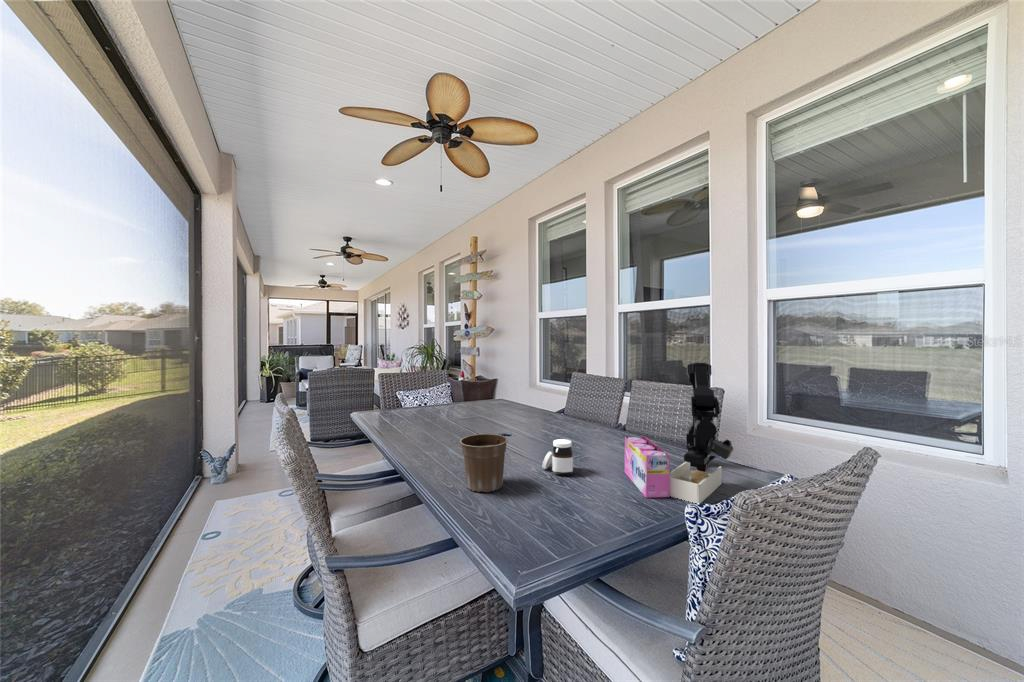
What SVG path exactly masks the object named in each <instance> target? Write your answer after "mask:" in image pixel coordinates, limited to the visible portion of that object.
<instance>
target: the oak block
mask: <svg viewBox="0 0 1024 682" xmlns="http://www.w3.org/2000/svg"><path fill="white" fill-rule="evenodd" d="M708 474H709V472H708V471H707V472H703V471H699V470H697V469H695V470H694V471H693V472H692V473H691V482H692V483H696V484H699V483H700V482H701V481H702V480H704V479H705V478H706V477H707V476H708Z"/></svg>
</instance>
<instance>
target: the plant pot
mask: <svg viewBox="0 0 1024 682" xmlns="http://www.w3.org/2000/svg"><path fill="white" fill-rule="evenodd" d="M459 443H460V445H461V450H462V454H463V458H464V468H465V469H464V471H465V478H466V479H465V480H466V486H467V487H468V488H469V489H470V490H469V489H468V488H467V489H468V490H469V491H471V490H472V492H474V491H477V492H476V493H480V492H483V493H484V492H486V493H491V492H490V491H493V492H496V491H498V490H500V489H501V488H502V487H503V484H504V482H503V481H504V472H505V471H504V467H505V455H506V452H507V443H508V437H507V436H504V435H503V434H497V433H478V434H471V435H467V436H465V437H463V438H461V439H460V440H459ZM495 490H496V491H495Z"/></svg>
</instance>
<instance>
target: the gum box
mask: <svg viewBox="0 0 1024 682" xmlns="http://www.w3.org/2000/svg"><path fill="white" fill-rule="evenodd" d="M670 469H671V456H670V454H669V453H668V452H667V451H666V450H663V449H662V448H661V447H659V446H658V445H657V444H656V443H654V442H653V441H651V439H649V438H648V437H646V436H645V435H639V437H628V436H627V435H625V436H624V473H625V474H626V475H627V477H628V478H629V479H630V480H631V482H632V483H633V484H634V485H635V487H636V488H637V489H638V490H639V491H640V493H641V494H642V495H643V496H644V497H645V498H670V496H669V493H670V472H671V470H670Z"/></svg>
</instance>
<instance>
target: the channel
mask: <svg viewBox="0 0 1024 682" xmlns="http://www.w3.org/2000/svg"><path fill="white" fill-rule="evenodd" d="M722 469H723V467H722V466H718V467H717V468H716V469H714V470H713V471H712V472H711V473H708V476H707V477H706V478H705V479H704V480H702V481H701V482H700V483H699V484H696V483H692V482H691V473H692V472H693V471H695V470H693V469H691V465H690V462H685V461H683V463H682V464H680V465H678V466H676V467H675V468H674V469H673V470H670V493H669V497H670V496H671V498H674V499H677V498H678V500H681V499H682V501H684V500H685V501H684V502H688V501H689V502H688V503H692V502H693V504H695V503H700V504H702V503H703V502H704V501H705V500H706V499H707V498H708V497H709V496H710V495H711V494H713V492H714V491H716V490H717V489H718V488H719V487H720V486H721V485H722V477H723V475H722V472H723V471H722Z"/></svg>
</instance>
